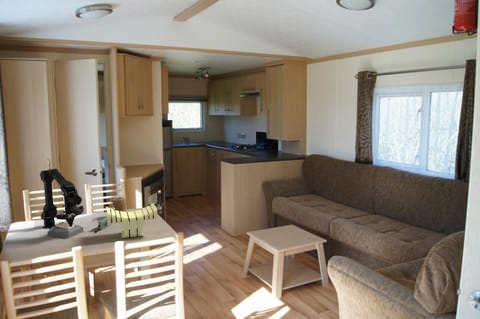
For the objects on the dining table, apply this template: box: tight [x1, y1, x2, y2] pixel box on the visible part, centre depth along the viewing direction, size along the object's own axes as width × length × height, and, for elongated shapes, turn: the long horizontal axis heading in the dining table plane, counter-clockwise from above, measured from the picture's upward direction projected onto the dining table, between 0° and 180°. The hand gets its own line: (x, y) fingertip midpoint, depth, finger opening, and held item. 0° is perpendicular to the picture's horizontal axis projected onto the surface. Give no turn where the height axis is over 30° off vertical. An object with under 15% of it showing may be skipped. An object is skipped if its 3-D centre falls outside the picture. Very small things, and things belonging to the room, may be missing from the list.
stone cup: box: [111, 196, 129, 218], centre depth 297 cm, size 15×12×15 cm
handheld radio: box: [94, 213, 113, 233], centre depth 274 cm, size 7×3×25 cm
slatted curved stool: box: [105, 202, 158, 239], centre depth 258 cm, size 30×16×18 cm, turn 110°
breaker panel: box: [47, 224, 84, 239], centre depth 261 cm, size 16×14×4 cm
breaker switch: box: [55, 221, 76, 230], centre depth 261 cm, size 10×6×1 cm, turn 74°
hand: (71, 226), depth 260 cm, fingers closed, pressing on breaker switch
